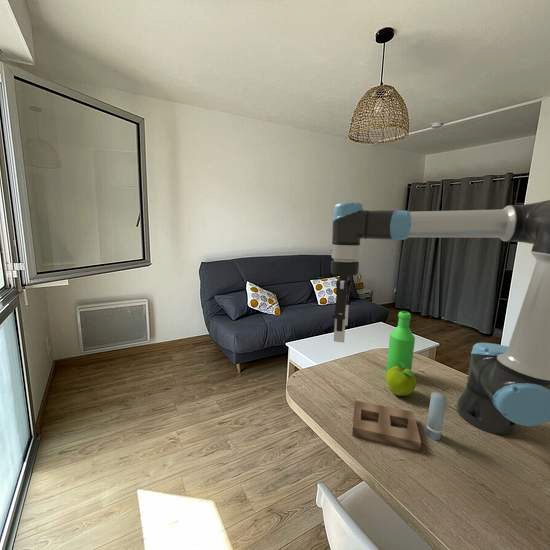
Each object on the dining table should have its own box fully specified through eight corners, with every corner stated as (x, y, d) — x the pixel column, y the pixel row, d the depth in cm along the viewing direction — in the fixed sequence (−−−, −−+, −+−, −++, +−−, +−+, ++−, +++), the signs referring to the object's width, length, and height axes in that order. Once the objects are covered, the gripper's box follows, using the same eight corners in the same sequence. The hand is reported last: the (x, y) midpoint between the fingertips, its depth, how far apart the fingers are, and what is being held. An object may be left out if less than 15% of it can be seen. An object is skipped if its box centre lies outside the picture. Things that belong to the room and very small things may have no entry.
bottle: (381, 369, 116) (387, 309, 112) (399, 367, 119) (405, 308, 115) (396, 381, 108) (403, 317, 104) (415, 378, 111) (423, 315, 106)
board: (412, 419, 87) (413, 411, 87) (420, 451, 75) (421, 442, 75) (354, 407, 92) (354, 400, 92) (352, 435, 80) (352, 427, 80)
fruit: (406, 386, 105) (409, 360, 104) (418, 401, 96) (422, 373, 94) (381, 385, 105) (383, 359, 104) (390, 400, 96) (393, 373, 94)
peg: (439, 432, 82) (444, 393, 80) (442, 441, 79) (448, 401, 76) (424, 429, 83) (429, 391, 81) (427, 438, 80) (432, 398, 78)
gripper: (335, 254, 94) (332, 318, 97) (325, 265, 70) (321, 348, 74) (360, 255, 91) (356, 320, 95) (357, 266, 68) (352, 352, 72)
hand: (341, 332), depth 84 cm, fingers open, 13 cm apart
